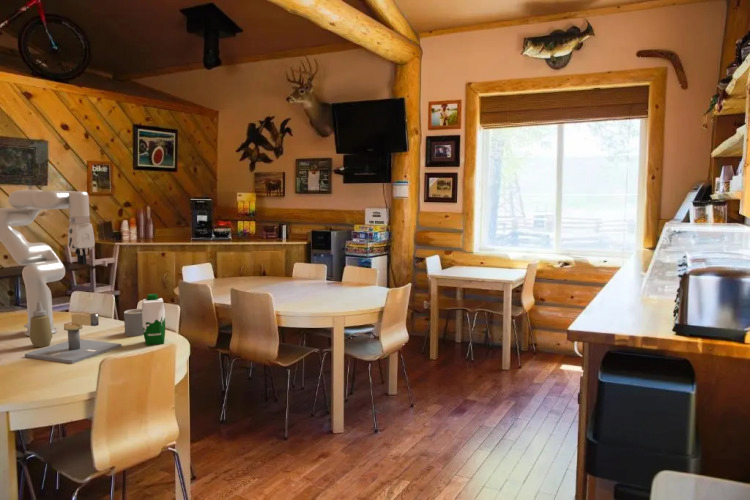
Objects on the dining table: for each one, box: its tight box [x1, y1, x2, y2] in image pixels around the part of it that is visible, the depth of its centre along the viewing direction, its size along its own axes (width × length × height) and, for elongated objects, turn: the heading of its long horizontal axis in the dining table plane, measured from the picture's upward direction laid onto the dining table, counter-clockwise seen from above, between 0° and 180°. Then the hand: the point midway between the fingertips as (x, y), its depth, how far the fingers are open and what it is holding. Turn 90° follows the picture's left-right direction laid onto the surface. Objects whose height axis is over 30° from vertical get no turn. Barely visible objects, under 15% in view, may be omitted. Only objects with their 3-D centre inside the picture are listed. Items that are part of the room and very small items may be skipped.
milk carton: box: [141, 293, 166, 346], centre depth 242 cm, size 9×9×20 cm
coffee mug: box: [123, 308, 144, 337], centre depth 259 cm, size 13×10×10 cm
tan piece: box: [63, 312, 100, 332], centre depth 227 cm, size 6×15×6 cm, turn 76°
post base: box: [24, 329, 123, 364], centre depth 229 cm, size 24×24×9 cm
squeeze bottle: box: [29, 302, 53, 348], centre depth 237 cm, size 8×8×18 cm
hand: (82, 264), depth 246 cm, fingers closed
